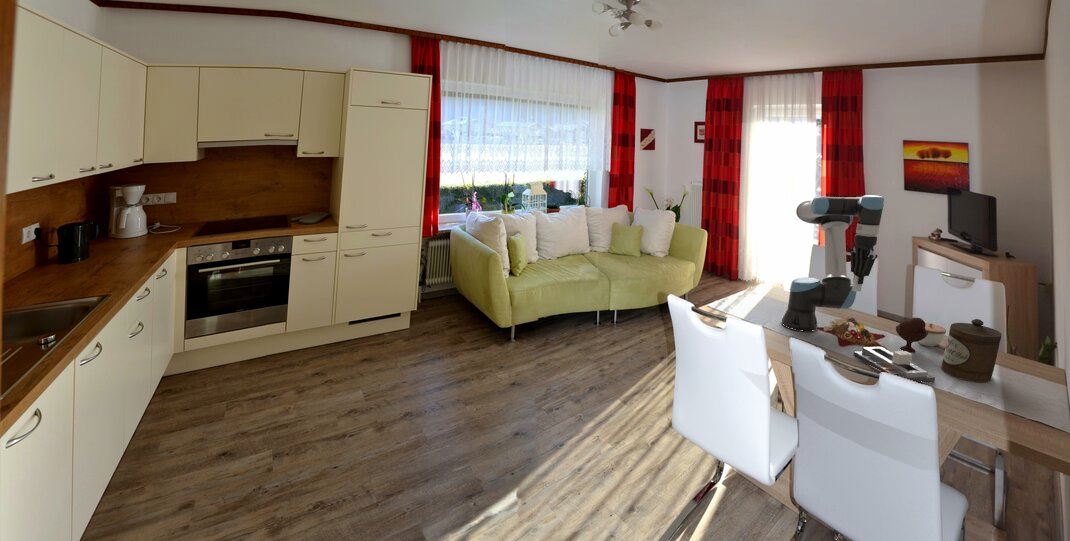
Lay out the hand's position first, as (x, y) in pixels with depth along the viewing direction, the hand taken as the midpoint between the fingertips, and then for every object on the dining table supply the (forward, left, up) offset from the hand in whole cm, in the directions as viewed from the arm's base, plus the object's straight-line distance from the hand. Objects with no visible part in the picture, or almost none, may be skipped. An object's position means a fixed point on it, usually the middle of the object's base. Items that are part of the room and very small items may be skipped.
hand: (856, 290), depth 204 cm
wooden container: (+24, +31, -27) cm, 47 cm away
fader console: (+18, +6, -26) cm, 33 cm away
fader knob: (+22, +6, -24) cm, 33 cm away
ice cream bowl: (+2, +26, -27) cm, 37 cm away
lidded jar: (-4, +40, -27) cm, 48 cm away
